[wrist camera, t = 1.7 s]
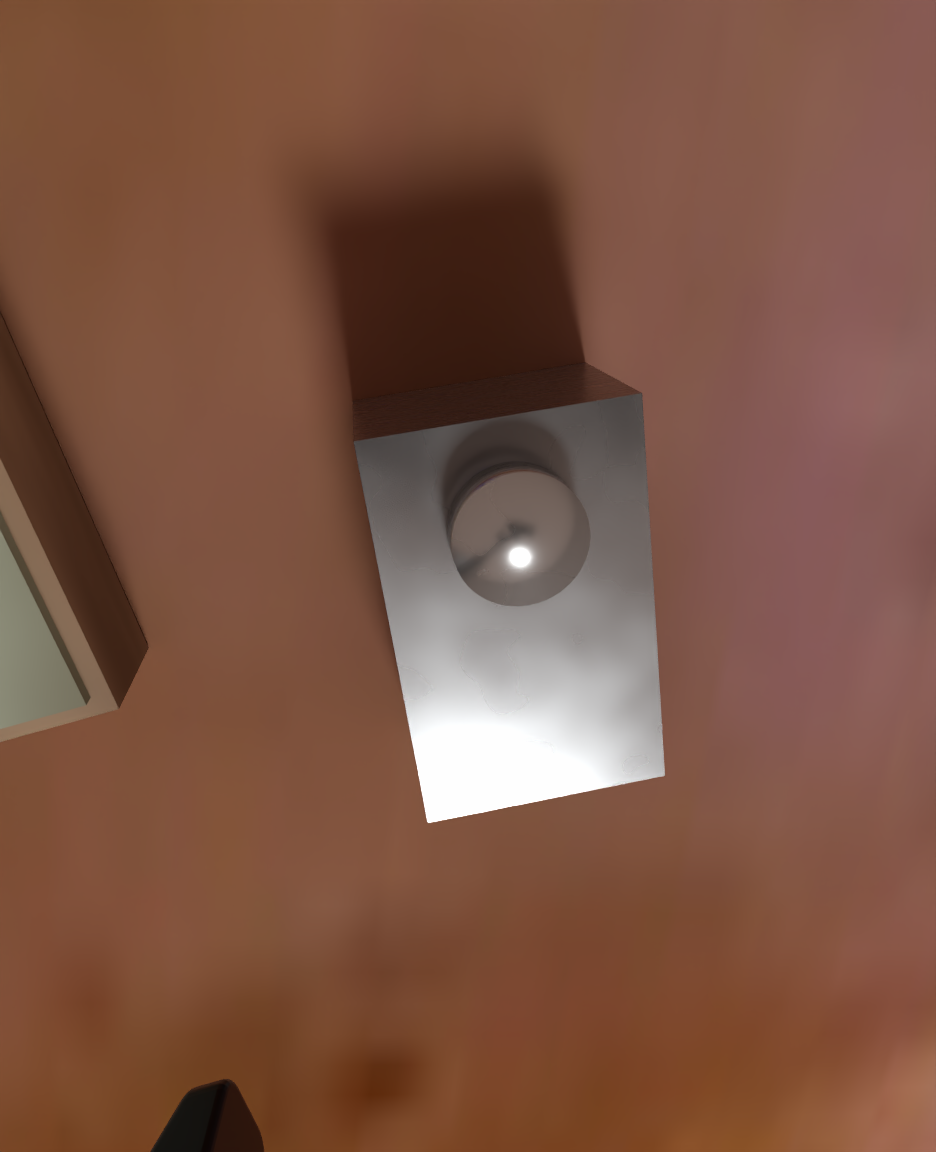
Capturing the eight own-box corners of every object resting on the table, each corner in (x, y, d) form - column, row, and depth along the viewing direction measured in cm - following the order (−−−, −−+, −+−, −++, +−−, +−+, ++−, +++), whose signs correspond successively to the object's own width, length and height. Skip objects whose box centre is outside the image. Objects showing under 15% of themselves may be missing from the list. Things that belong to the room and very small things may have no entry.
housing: (414, 719, 21) (431, 848, 17) (352, 398, 18) (353, 452, 14) (610, 682, 21) (678, 799, 17) (582, 361, 18) (658, 401, 14)
